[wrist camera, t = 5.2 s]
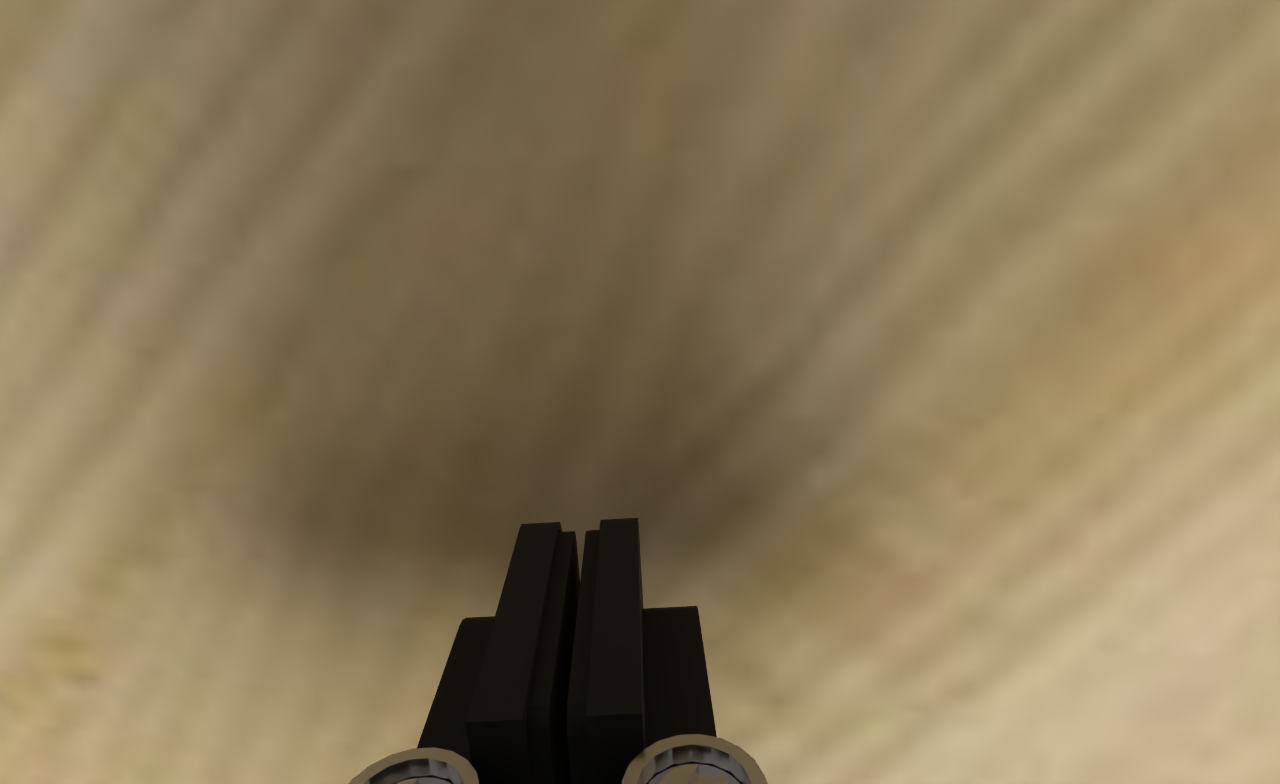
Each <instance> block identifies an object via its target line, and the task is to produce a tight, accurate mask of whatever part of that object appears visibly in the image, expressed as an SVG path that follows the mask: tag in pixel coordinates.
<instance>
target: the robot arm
mask: <svg viewBox="0 0 1280 784" xmlns="http://www.w3.org/2000/svg"><path fill="white" fill-rule="evenodd" d="M349 784H768V783H767V781H766V778H765V776H764V774H763V772H762V771H761V769H760V768H759V766H758V764H757V763H756V761H755V760H754V759H753V758H752V757H751V756H750V755H749V754H747V753H746V752H745V751H744V750H743V749H741V748H740V747H739V746H737V745H735V744H733V743H730V742H728V741H726V740H724V739H722V738H718V737H717V736H716V730H715V723H714V716H713V709H712V702H711V695H710V689H709V682H708V675H707V668H706V661H705V654H704V648H703V641H702V634H701V627H700V620H699V614H698V608H697V606H687V607H668V608H648V609H643V595H642V577H641V560H640V542H639V525H638V518H630V519H611V520H601V521H600V530H590V531H586V535H585V544H584V553H583V563H582V572H581V581H580V577H579V565H578V554H577V542H576V534H575V531H571V532H562V528H561V524H560V522H553V523H533V524H521V526H520V529H519V533H518V537H517V540H516V544H515V547H514V551H513V554H512V558H511V562H510V565H509V569H508V572H507V576H506V579H505V583H504V587H503V590H502V594H501V597H500V601H499V604H498V608H497V612H496V615H495V616H493V617H474V618H465V619H463V620H462V622H461V624H460V626H459V629H458V632H457V634H456V637H455V640H454V643H453V646H452V649H451V652H450V655H449V657H448V660H447V663H446V666H445V669H444V672H443V675H442V678H441V680H440V683H439V686H438V689H437V692H436V695H435V698H434V701H433V703H432V706H431V709H430V712H429V715H428V718H427V721H426V724H425V726H424V729H423V732H422V735H421V738H420V741H419V744H418V747H417V748H415V749H410V750H406V751H403V752H399V753H395V754H392V755H389V756H387V757H386V758H384V759H382V760H380V761H378V762H376V763H374V764H372V765H370V766H369V767H367V768H366V769H365V770H363V771H362V772H361V773H360V774H358V775H357V776H356V777H354V778H353V779H352V780H351V781H350V782H349Z"/></svg>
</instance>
